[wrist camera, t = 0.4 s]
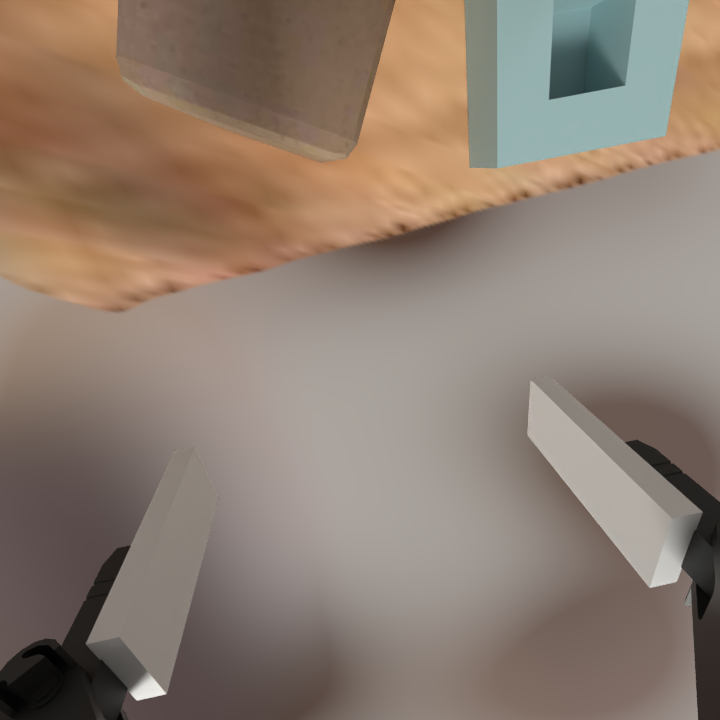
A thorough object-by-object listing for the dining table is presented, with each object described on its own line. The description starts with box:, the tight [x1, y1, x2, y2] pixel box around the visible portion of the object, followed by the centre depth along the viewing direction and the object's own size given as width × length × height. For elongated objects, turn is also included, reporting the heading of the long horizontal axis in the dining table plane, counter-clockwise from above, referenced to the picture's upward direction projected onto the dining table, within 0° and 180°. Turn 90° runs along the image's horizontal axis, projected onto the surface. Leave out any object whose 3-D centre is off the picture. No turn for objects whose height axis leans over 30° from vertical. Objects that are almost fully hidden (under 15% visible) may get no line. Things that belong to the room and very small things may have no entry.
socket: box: [465, 0, 689, 168], centre depth 31 cm, size 14×14×6 cm
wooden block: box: [116, 0, 395, 162], centre depth 23 cm, size 10×10×20 cm
